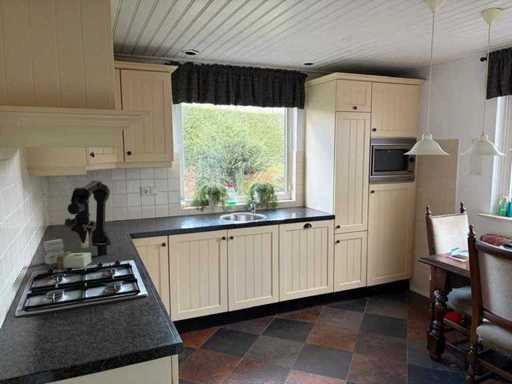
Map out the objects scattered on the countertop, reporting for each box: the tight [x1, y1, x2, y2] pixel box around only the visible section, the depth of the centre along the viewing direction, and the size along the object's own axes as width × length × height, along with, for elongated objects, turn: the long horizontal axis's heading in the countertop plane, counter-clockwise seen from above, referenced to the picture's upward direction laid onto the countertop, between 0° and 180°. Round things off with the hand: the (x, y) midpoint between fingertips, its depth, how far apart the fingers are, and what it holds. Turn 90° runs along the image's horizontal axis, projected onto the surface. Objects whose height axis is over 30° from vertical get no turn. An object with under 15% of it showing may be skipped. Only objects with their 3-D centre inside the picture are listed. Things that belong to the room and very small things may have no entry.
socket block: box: [62, 252, 92, 269], centre depth 195 cm, size 10×10×5 cm
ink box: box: [43, 238, 65, 265], centre depth 207 cm, size 9×5×12 cm, turn 141°
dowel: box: [80, 233, 90, 249], centre depth 196 cm, size 4×4×8 cm
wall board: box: [56, 250, 73, 270], centre depth 196 cm, size 13×32×7 cm, turn 94°
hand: (84, 242), depth 196 cm, fingers closed on dowel, 4 cm apart
